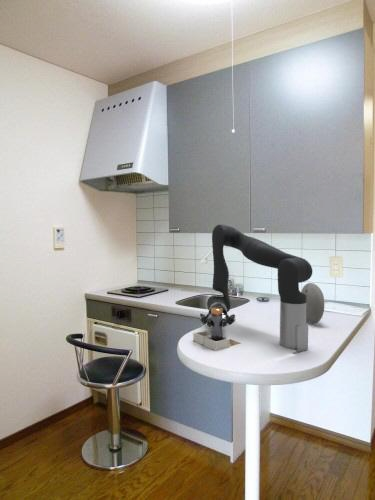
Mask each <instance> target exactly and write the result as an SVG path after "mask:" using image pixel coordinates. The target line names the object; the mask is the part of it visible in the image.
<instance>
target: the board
mask: <svg viewBox="0 0 375 500" xmlns="http://www.w3.org/2000/svg"><path fill="white" fill-rule="evenodd" d="M229 339H230V347H232V346H236V345H237V346H238V345H240V344H242V342H239V341H237V340H234V339H231V338H229ZM198 344H199V345H201V346H203V345H202V344H200V343H198ZM207 348H208V349H210V348H209V347H207Z"/></svg>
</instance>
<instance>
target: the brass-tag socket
mask: <svg viewBox="0 0 375 500" xmlns="http://www.w3.org/2000/svg"><path fill="white" fill-rule="evenodd" d="M230 339H231V338H229V337H226V336H224V335H222V340H220V341H214V340H211V336H209V337H205V338H204V345H203V346H205V347H207V348H208V347H209V348H208V349H211V350H213V351H220V350H223V349H227V348H230V347H231V346H230Z"/></svg>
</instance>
